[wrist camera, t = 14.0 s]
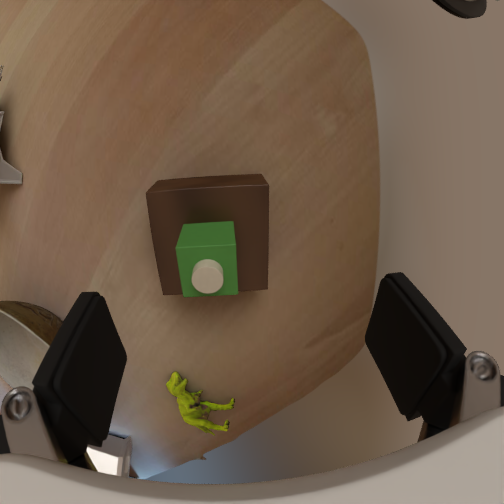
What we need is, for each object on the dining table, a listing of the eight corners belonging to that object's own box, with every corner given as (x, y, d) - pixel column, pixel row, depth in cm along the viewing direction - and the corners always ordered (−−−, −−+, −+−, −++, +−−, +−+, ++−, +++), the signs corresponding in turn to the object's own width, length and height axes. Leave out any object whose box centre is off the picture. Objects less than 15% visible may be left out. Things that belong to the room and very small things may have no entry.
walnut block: (261, 173, 29) (268, 184, 24) (261, 266, 34) (267, 289, 29) (157, 180, 28) (145, 192, 23) (170, 271, 33) (163, 295, 28)
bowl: (4, 345, 37) (-16, 379, 28) (-9, 246, 28) (-47, 280, 19) (102, 392, 43) (91, 434, 34) (116, 306, 34) (94, 360, 26)
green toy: (233, 220, 26) (236, 251, 20) (235, 265, 28) (239, 303, 22) (183, 223, 25) (172, 255, 20) (188, 267, 27) (181, 306, 22)
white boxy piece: (133, 426, 56) (119, 469, 38) (131, 467, 55) (120, 509, 36) (49, 395, 52) (17, 425, 33) (52, 438, 50) (27, 471, 32)
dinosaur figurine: (255, 415, 49) (258, 441, 44) (211, 426, 50) (211, 451, 45) (202, 362, 40) (201, 394, 35) (151, 377, 41) (145, 407, 36)
